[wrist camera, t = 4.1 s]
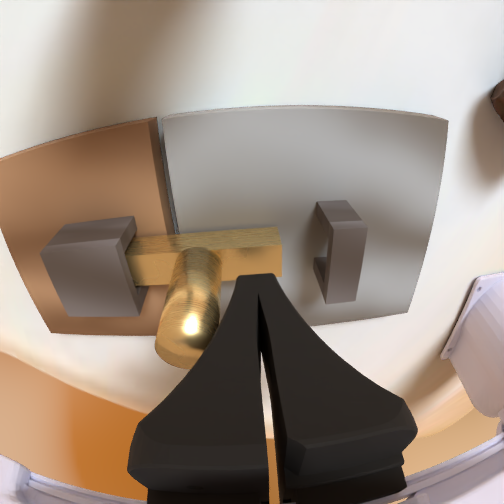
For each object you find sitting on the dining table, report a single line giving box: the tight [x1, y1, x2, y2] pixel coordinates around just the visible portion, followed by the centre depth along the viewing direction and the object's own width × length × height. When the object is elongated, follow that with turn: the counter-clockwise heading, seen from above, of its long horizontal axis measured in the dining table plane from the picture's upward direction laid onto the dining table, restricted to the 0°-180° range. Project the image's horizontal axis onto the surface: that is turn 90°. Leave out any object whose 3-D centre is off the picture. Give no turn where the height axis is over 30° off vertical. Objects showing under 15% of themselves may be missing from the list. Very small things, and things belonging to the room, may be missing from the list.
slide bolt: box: [124, 227, 282, 369], centre depth 12 cm, size 2×9×6 cm, turn 93°
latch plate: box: [0, 105, 448, 336], centre depth 14 cm, size 12×24×4 cm, turn 93°
